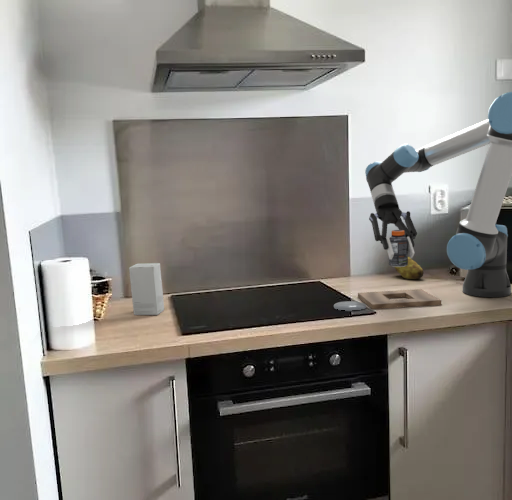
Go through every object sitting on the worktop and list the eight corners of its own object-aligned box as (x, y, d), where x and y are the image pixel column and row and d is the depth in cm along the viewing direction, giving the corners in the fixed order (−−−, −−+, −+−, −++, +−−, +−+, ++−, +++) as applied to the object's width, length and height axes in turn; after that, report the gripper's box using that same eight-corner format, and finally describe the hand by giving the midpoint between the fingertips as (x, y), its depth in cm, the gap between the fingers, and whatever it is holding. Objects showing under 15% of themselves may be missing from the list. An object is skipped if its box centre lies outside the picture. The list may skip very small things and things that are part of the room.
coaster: (360, 302, 182) (360, 300, 182) (370, 310, 172) (370, 308, 172) (330, 304, 181) (330, 302, 181) (338, 312, 171) (338, 310, 171)
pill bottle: (406, 263, 183) (406, 229, 182) (409, 266, 177) (409, 231, 176) (387, 264, 184) (387, 229, 182) (389, 267, 178) (389, 231, 176)
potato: (405, 281, 210) (405, 260, 209) (390, 275, 223) (390, 255, 222) (425, 280, 212) (426, 259, 211) (410, 273, 224) (410, 254, 223)
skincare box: (164, 310, 181) (161, 262, 179) (157, 316, 175) (153, 266, 172) (140, 310, 183) (137, 262, 181) (131, 315, 176) (128, 266, 174)
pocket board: (421, 293, 191) (421, 289, 191) (441, 304, 176) (441, 300, 175) (357, 297, 189) (357, 292, 189) (372, 309, 173) (372, 304, 173)
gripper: (409, 206, 194) (428, 261, 180) (355, 209, 192) (370, 264, 179) (415, 191, 188) (435, 247, 174) (359, 194, 186) (375, 250, 173)
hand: (402, 256), depth 176 cm, fingers closed on pill bottle, 6 cm apart
